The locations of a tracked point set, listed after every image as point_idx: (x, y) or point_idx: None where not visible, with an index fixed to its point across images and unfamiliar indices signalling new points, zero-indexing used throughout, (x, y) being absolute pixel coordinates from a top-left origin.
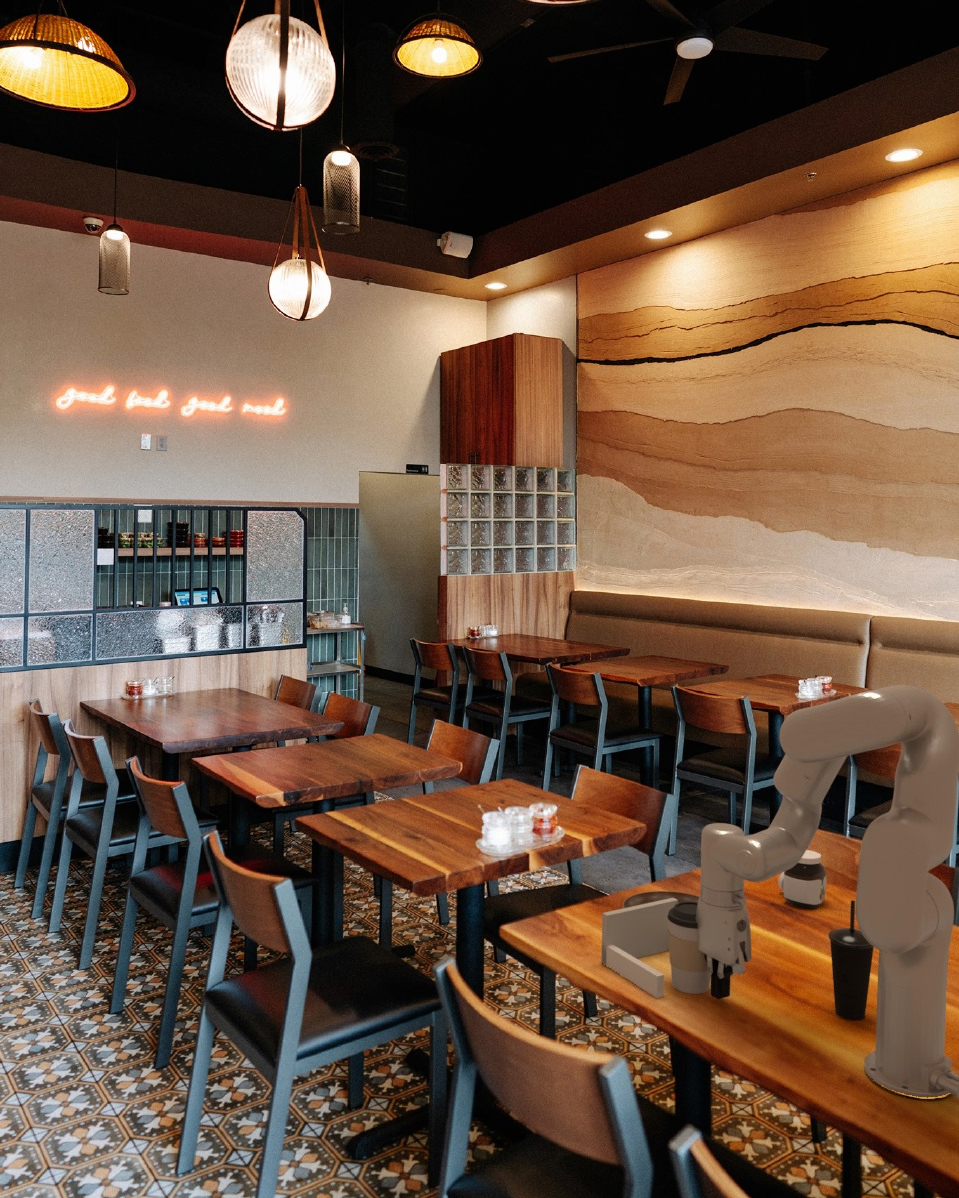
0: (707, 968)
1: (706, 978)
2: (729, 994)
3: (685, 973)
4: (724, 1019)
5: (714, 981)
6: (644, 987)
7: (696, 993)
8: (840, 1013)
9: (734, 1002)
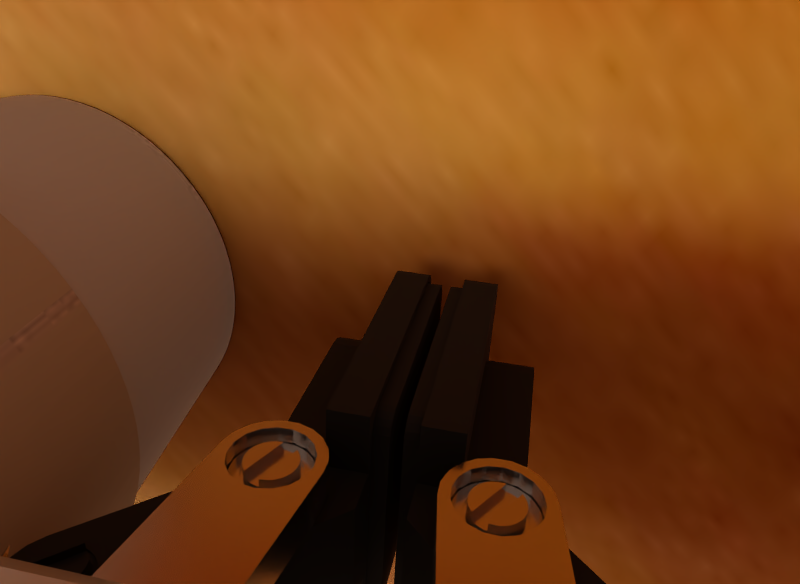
0: (121, 424)
1: (174, 337)
2: (495, 288)
3: None
4: (686, 529)
5: (396, 544)
6: None
7: (223, 351)
8: None
9: (539, 216)
